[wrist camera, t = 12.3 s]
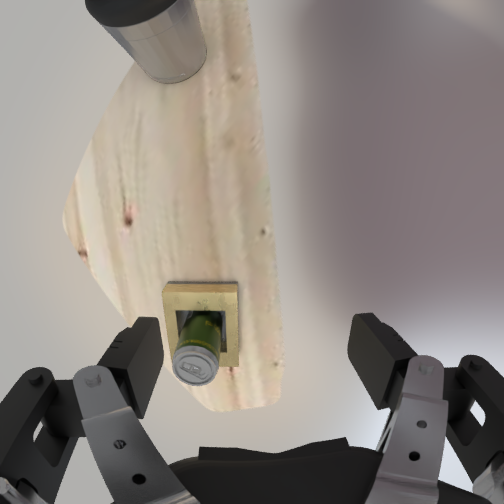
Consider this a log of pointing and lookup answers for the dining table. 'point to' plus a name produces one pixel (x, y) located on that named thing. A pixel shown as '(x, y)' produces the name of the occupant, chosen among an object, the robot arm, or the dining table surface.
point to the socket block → (203, 299)
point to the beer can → (198, 348)
